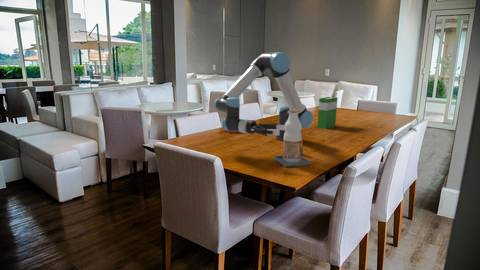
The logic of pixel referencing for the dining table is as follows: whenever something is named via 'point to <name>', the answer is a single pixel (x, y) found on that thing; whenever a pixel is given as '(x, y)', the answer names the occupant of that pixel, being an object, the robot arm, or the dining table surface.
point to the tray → (301, 163)
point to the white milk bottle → (292, 138)
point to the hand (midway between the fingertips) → (283, 130)
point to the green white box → (327, 112)
